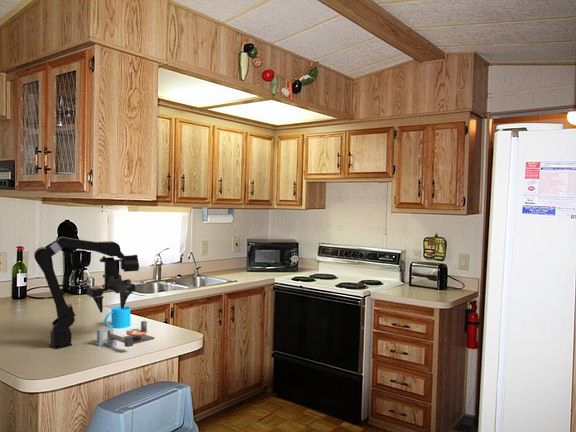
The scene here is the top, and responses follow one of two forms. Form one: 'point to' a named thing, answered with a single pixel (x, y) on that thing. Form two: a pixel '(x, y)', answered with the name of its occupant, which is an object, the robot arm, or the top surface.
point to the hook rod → (123, 339)
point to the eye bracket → (108, 341)
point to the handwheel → (138, 330)
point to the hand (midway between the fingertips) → (111, 310)
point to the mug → (119, 317)
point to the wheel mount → (141, 338)
